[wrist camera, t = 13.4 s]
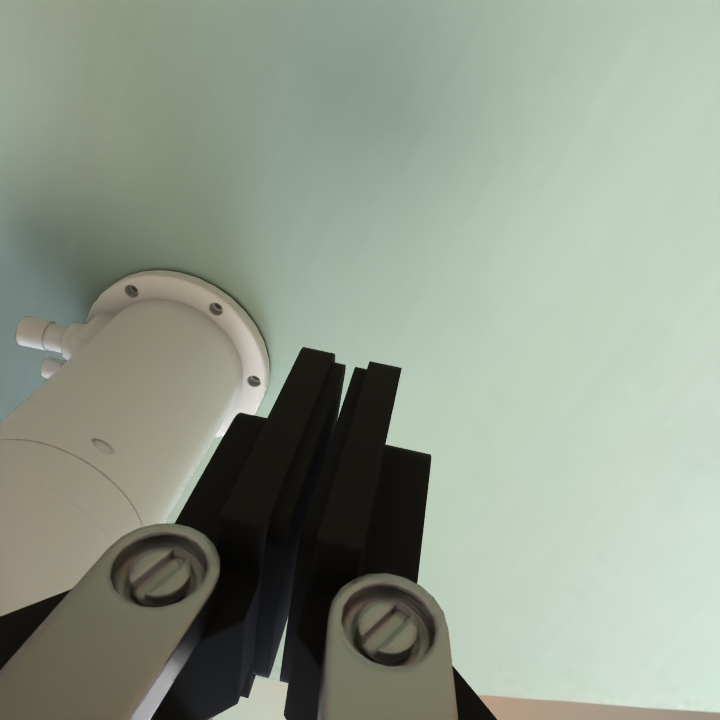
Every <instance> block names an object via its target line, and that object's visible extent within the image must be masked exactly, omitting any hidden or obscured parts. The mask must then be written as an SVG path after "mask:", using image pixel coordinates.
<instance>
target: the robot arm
mask: <svg viewBox="0 0 720 720" xmlns="http://www.w3.org/2000/svg"><path fill="white" fill-rule="evenodd" d="M219 304H220V305H219ZM16 341H17V342H18V344H19V345H22V346H26V347H31V348H35V349H40V350H45V351H49V350H51V351H55V352H60V353H62V355H63V358H65V359H66V360H68V361H64V360H60V359H55V358H51V357H48V358H46V359H45V360H44V361H43V363H42V366H41V375H42V376H43V377H45V378H48V379H47V380H46V381H45V382H44V383H43V384H42V385H41V386H40V387H39V388H38V389H37V390H36V391H34V392H33V393H32V394H31V395H30V396H29V397H28V398H27V399H26V400H25V401H24V402H23V403H22V404H21V405H19V406H18V407H17V408H16V409H15V410H14V411H13V412H12V413H11V414H10V415H9V416H8V417H7V418H6V419H5V420H3V421H2V422H1V423H0V720H212V719H213V717H214V716H216V715H217V714H219V713H221V712H223V711H225V710H227V709H228V708H230V707H232V706H234V705H236V704H237V703H238V701H239V698H240V696H243V697H246V698H248V697H249V694H250V691H251V688H252V685H253V682H254V679H255V676H256V675H258V676H262V677H266V678H268V677H269V676H270V673H271V670H272V667H273V664H274V661H275V657H276V654H277V651H278V648H279V644H280V641H281V638H282V635H283V631H284V628H285V625H286V621H287V618H288V623H287V631H286V638H285V645H284V652H283V660H282V667H281V674H280V681H282V682H286V683H289V684H288V691H287V697H286V704H285V710H284V716H285V718H286V720H497V719H496V718H495V716H494V715H493V714H492V713H491V712H490V710H489V709H488V708H487V707H486V706H485V704H484V703H483V702H482V701H481V700H480V698H479V697H478V696H477V695H476V693H475V692H474V691H473V690H472V689H471V687H470V686H469V685H468V684H467V682H466V681H465V680H464V679H463V678H462V676H461V675H460V674H459V673H458V672H457V670H456V669H455V668H454V667H453V666H452V659H451V650H450V641H449V632H448V626H447V623H446V619H445V616H444V612H443V611H442V609H441V608H440V606H439V605H438V603H437V602H436V600H435V599H434V597H433V596H431V595H430V594H429V593H428V592H427V591H426V590H425V589H424V588H422V587H421V586H420V585H418V584H417V580H418V572H419V563H420V554H421V545H422V536H423V527H424V519H425V510H426V501H427V492H428V483H429V474H430V466H431V455H430V454H425V453H421V452H416V451H412V450H407V449H403V448H398V447H394V446H389V445H385V443H386V438H387V434H388V429H389V424H390V420H391V415H392V410H393V406H394V401H395V396H396V392H397V387H398V382H399V378H400V373H401V368H399V367H394V366H389V365H385V364H380V363H375V362H371V361H370V362H369V365H368V368H367V369H362V368H358V367H355V369H354V372H353V375H352V378H351V381H350V384H349V387H348V390H347V393H346V396H345V399H344V402H343V405H342V408H341V411H340V414H339V417H338V413H339V407H340V400H341V394H342V388H343V382H344V375H345V368H346V366H345V365H344V364H339V363H335V354H333V353H329V352H324V351H319V350H315V349H310V348H305V347H303V348H302V349H301V351H300V353H299V355H298V357H297V359H296V361H295V363H294V365H293V367H292V369H291V371H290V373H289V375H288V377H287V379H286V381H285V383H284V385H283V388H282V390H281V392H280V394H279V396H278V398H277V400H276V402H275V404H274V406H273V408H272V410H271V412H270V414H269V416H268V418H263V417H259V416H254V414H255V413H256V411H257V409H258V407H259V406H260V404H261V402H262V400H263V398H264V395H265V393H266V390H267V388H268V382H269V375H270V370H269V357H268V354H267V350H266V347H265V343H264V341H263V339H262V337H261V335H260V333H259V331H258V329H257V327H256V325H255V324H254V322H253V321H252V320H251V318H250V317H249V316H248V314H247V313H246V312H245V310H243V309H242V308H241V307H240V306H239V305H238V304H237V303H236V302H235V301H234V300H233V299H232V298H231V297H230V296H228V295H227V294H225V293H224V292H223V291H221V290H220V289H218V288H217V287H215V286H214V285H211V284H209V283H207V282H205V281H203V280H201V279H199V278H197V277H194V276H190V275H187V274H184V273H180V272H173V271H165V270H154V271H143V272H139V273H136V274H132V275H129V276H126V277H125V278H123V279H121V280H119V281H117V282H116V283H114V284H113V285H112V286H111V287H109V288H108V289H107V290H106V291H104V292H103V293H102V294H101V295H100V297H99V298H98V299H97V300H96V302H95V303H94V304H93V306H92V308H91V310H90V312H89V314H88V317H87V321H86V324H81V323H76V322H74V323H72V324H70V325H69V326H64V325H59V324H56V323H55V322H51V321H47V320H42V319H38V318H33V317H24V318H23V319H21V320H20V322H19V324H18V325H17V329H16ZM337 419H338V420H337ZM222 435H224V437H223V438H222V440H221V442H220V444H219V446H218V447H217V449H216V451H215V453H214V454H213V456H212V458H211V460H210V462H209V463H208V465H207V467H206V469H205V470H204V472H203V474H202V476H201V478H200V479H199V481H198V483H197V485H196V486H195V488H194V490H193V492H192V493H191V495H190V497H189V499H188V501H187V502H186V504H185V506H184V508H183V509H182V511H181V513H180V515H179V517H178V518H177V520H176V522H175V524H164V523H165V521H166V520H167V518H168V516H169V515H170V513H171V511H172V509H173V508H174V506H175V504H176V503H177V501H178V499H179V497H180V496H181V494H182V492H183V490H184V489H185V487H186V485H187V484H188V482H189V480H190V478H191V477H192V475H193V473H194V472H195V470H196V468H197V466H198V465H199V463H200V461H201V460H202V458H203V456H204V454H205V453H206V451H207V449H208V447H209V446H210V444H211V442H212V441H213V439H214V437H219V436H222ZM288 615H289V616H288Z"/></svg>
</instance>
